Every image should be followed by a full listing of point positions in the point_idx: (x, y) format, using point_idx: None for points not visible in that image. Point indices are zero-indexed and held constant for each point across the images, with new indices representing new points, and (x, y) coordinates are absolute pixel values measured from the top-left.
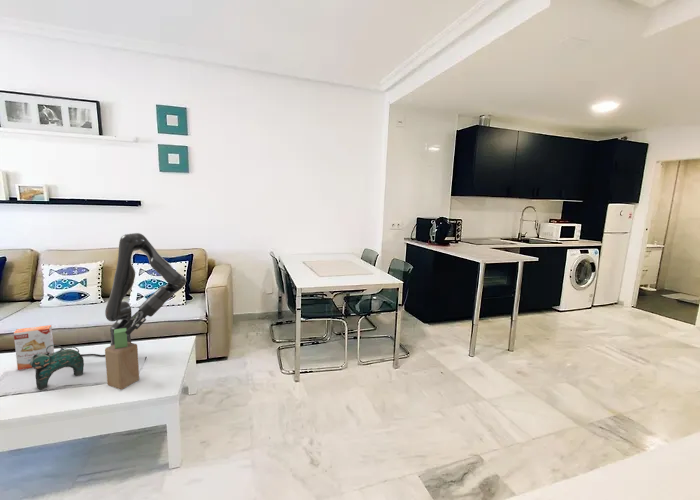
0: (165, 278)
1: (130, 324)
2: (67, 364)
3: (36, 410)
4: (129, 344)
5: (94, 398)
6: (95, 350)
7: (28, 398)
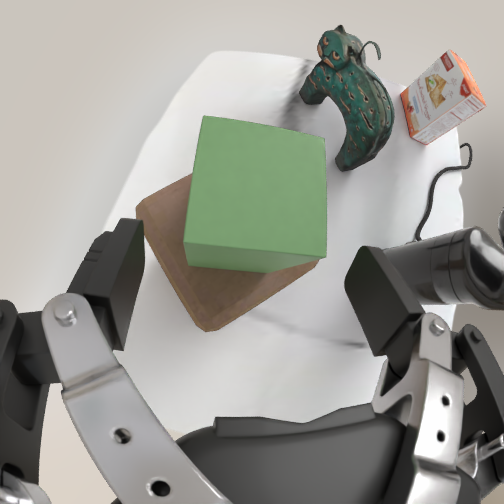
0: None
1: (371, 310)
2: (345, 115)
3: (200, 80)
4: (224, 283)
5: (165, 178)
6: (445, 221)
7: (270, 75)
